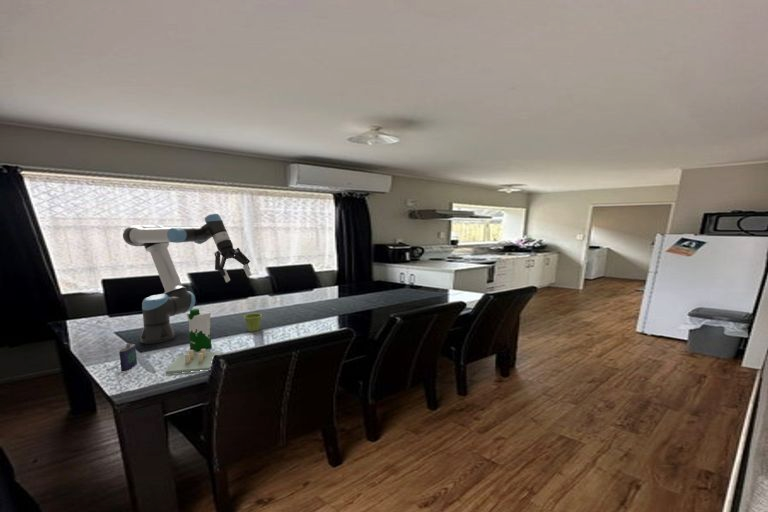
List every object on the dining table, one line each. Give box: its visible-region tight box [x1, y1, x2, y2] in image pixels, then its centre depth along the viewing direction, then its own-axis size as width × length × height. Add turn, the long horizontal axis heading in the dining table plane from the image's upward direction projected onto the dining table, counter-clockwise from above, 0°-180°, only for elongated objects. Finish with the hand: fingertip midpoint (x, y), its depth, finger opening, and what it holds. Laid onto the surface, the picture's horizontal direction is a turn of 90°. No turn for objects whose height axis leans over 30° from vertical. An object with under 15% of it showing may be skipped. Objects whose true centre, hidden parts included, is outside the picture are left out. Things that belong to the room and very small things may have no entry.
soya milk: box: [186, 308, 212, 353], centre depth 169 cm, size 9×9×20 cm
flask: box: [118, 343, 138, 372], centre depth 147 cm, size 9×3×11 cm, turn 8°
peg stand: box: [165, 349, 223, 375], centre depth 151 cm, size 18×18×6 cm
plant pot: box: [244, 313, 263, 333], centre depth 198 cm, size 9×9×9 cm
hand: (239, 278), depth 177 cm, fingers open, 13 cm apart
